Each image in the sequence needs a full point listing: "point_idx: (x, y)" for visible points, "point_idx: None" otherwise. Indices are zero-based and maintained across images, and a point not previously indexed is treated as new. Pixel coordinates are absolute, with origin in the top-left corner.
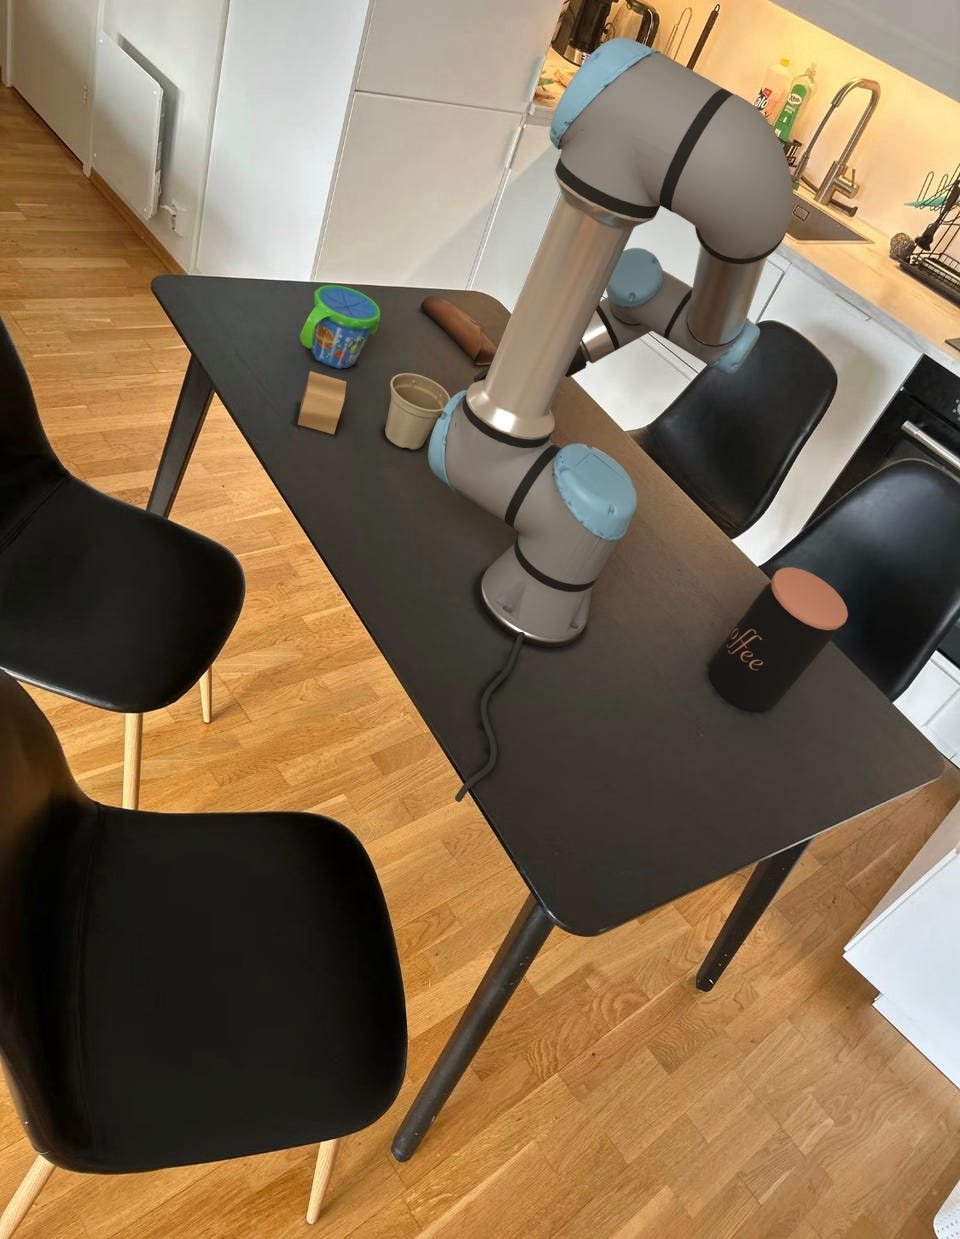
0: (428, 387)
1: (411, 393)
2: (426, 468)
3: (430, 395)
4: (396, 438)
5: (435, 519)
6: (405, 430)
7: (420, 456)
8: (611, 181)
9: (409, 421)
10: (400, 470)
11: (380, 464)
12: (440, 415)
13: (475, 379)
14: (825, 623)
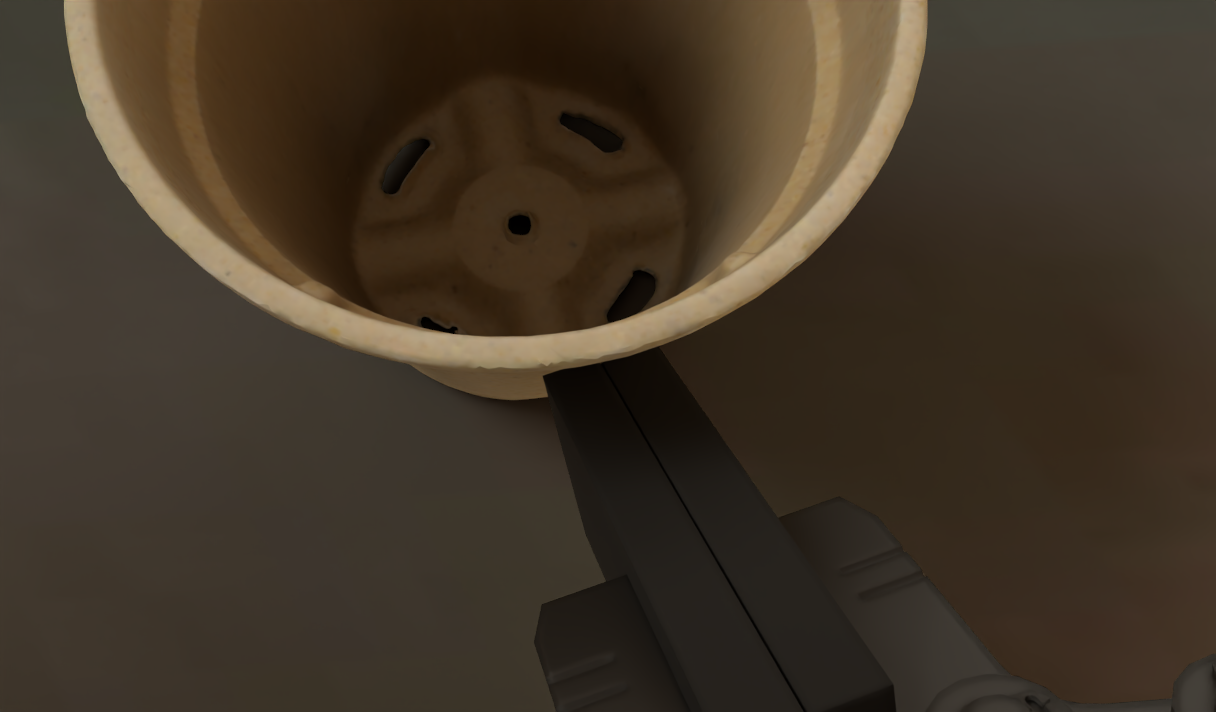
0: (848, 112)
1: (775, 26)
2: (155, 464)
3: (783, 190)
4: (347, 135)
5: None
6: (286, 118)
7: (318, 398)
8: None
9: (241, 61)
10: (25, 248)
11: (42, 92)
12: (560, 384)
13: (1210, 687)
14: None
